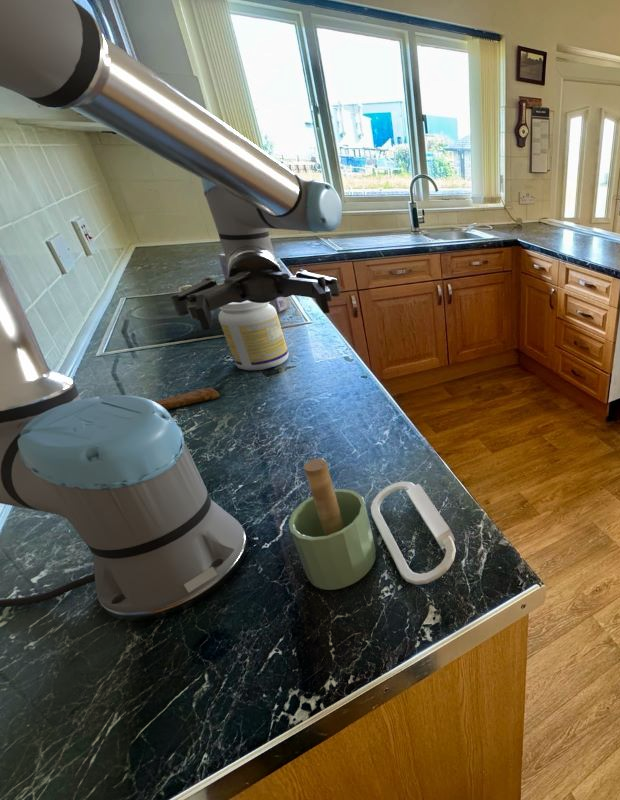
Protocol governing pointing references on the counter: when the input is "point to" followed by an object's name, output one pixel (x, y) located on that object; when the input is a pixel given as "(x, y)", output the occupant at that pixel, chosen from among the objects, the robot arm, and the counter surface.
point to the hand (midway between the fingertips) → (267, 311)
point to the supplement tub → (253, 335)
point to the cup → (334, 542)
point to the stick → (324, 495)
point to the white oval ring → (432, 522)
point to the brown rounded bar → (188, 398)
